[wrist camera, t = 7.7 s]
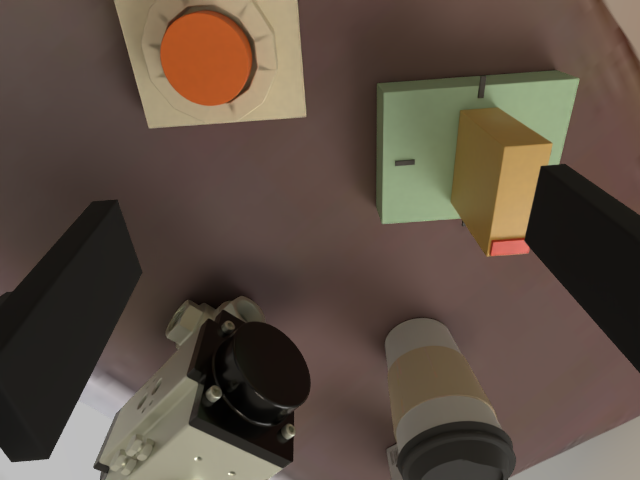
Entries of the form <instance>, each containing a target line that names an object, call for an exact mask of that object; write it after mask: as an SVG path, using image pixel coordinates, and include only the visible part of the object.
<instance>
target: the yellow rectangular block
mask: <svg viewBox="0 0 640 480" xmlns="http://www.w3.org/2000/svg"><path fill="white" fill-rule="evenodd" d="M552 145H553V143H552V142H550V141H549V140H547V139H546V138H544V137H543V136H541V135H540V134H538V133H536V132H535V131H533V130H532V129H530V128H529V127H527V126H526V125H524V124H523V123H521V122H520V121H518V120H516V119H515V118H513V117H512V116H510V115H509V114H507V113H506V112H504V111H503V110H501V109H500V108H498V107H496V108H483V109H469V110H460V116H459V126H458V136H457V145H456V155H455V165H454V175H453V184H452V194H451V204H452V205H453V207H454V208H455V210H456V211H457V213H458V214H459V216H460V217H461V219H462V220H463V222H464V223H465V225H466V226H467V228H468V229H469V231H470V232H471V234H472V235H473V237H474V238H475V240H476V241H477V243H478V244H479V246H480V247H481V249H482V250H483V252H484V253H485V255H486V256H501V255H514V254H528V253H529V249H530V247H529V246H528V245H527V244H526V243H525V241H524V239H525V234H526V230H527V226H528V221H529V217H530V212H531V208H532V203H533V199H534V194H535V190H536V185H537V181H538V176H539V172H540V167H541V166H546V165H548V163H549V159H550V154H551V150H552Z"/></svg>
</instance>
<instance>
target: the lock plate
mask: <svg viewBox="0 0 640 480" xmlns="http://www.w3.org/2000/svg"><path fill="white" fill-rule="evenodd" d="M578 83H579V78H577V77H574V76H571V75H569V74H566V73H563V72H560V71H557V70H553V71H540V72H526V73H512V74H499V75H485V76H471V77H458V78H444V79H430V80H416V81H403V82H389V83H378V84H377V164H376V207H377V211H378V214H379V217H380V220H381V223H382V224H390V223H404V222H418V221H431V220H445V219H459V218H461V217H460V216H459V214H458V213H457V211H456V210H455V208H454V207H453V205H452V204H451V194H452V184H453V175H454V165H455V155H456V145H457V136H458V126H459V116H460V110H469V109H483V108H496V107H498V108H500V109H501V110H503V111H504V112H506V113H507V114H509V115H510V116H512V117H513V118H515V119H516V120H518V121H520V122H521V123H523V124H524V125H526V126H527V127H529V128H530V129H532V130H533V131H535V132H536V133H538V134H540V135H541V136H543V137H544V138H546V139H547V140H549V141H550V142H552V143H553V145H552V150H551V154H550V159H549V163H548V165H559V163H560V158H561V154H562V150H563V146H564V142H565V137H566V133H567V129H568V125H569V121H570V116H571V112H572V108H573V104H574V100H575V96H576V91H577V87H578ZM462 226H466V225H465V223H464V222H463V220H462Z"/></svg>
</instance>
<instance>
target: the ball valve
mask: <svg viewBox="0 0 640 480" xmlns="http://www.w3.org/2000/svg"><path fill="white" fill-rule="evenodd" d="M165 334H166V337H167V338H168V339H170V340H172V341H174V342H176V348H177V349H178V350H177V351H176V352H175V353H174V354H173V355H172V356H171V357H170V358H169V360H168V361H167V362H166V363H165V364H164V365H163V366H162V367H161V368H160V369H159V370H158V371H157V372H156V373H155V374H154V375H153V376H152V377H151V378H150V379H149V380H148V381H147V382H146V383H145V384H144V385H143V386H142V387H141V388H140V389H139V391H138V392H137V393H136V394H135V395H134V396H133V397H132V398H131V399H130V400H129V401H128V402H127V403H126V404H125V405H124V406H123V407H122V408H121V409H120V410H119V411H118V412H117V413H116V415H115V417H114V420H113V422H112V424H111V427H110V429H109V431H108V433H107V436H106V438H105V441H104V443H103V445H102V447H101V450H100V452H99V454H98V457H97V459H96V462H95V464H94V469H97V470H100V471H101V476H100V480H268V479H269V478H271V477H272V476H273V475H275V474H276V473H278V472H279V471H280V470H282V469H283V468H284V467H286V466H287V465H289V464H290V463H291V462H293V441H294V435H295V433H296V430H295V427H294V410H295V409H297V408H298V407H299V406H301V405H302V404H303V403H304V402H305V401H306V399H307V397H308V395H309V392H310V385H311V382H310V374H309V370H308V367H307V364H306V362H305V360H304V358H303V356H302V354H301V352H300V351H299V349H298V348H297V347H296V345H295V344H294V343H293V342H292V341H291V340H290V339H289V338H288V337H287V336H286V335H285V334H284V333H283V332H281V331H280V330H278V329H277V328H275V327H273V326H271V325H269V324H267V323H266V321H265V317H264V314H263V312H262V310H261V308H260V307H259V306H258V305H257V304H256V303H255V302H254V301H252V300H250V299H249V298H247V297H244V296H240V297H238V298H236V299H234V300H233V301H226V302H224V303H222V304H221V305H220V306H219V307H218V308H217V309H214V308H213V307H211V306H209V305H207V304H206V303H202V304H201V305H197V304H196V303H194V302H192V301H190V300H187V301H185V302H184V303H183V304H182V305H181V306H180V307H179V308H178V310H177V311H176V313H175V314H174V316H173V317H172V319H171V320H170V322H169V324H168V326H167V329H166V332H165Z"/></svg>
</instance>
